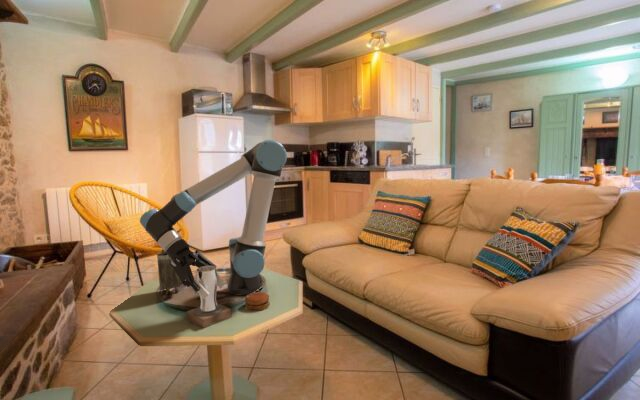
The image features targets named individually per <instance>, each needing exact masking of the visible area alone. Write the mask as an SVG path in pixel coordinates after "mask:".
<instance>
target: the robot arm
mask: <svg viewBox="0 0 640 400" xmlns="http://www.w3.org/2000/svg"><path fill="white" fill-rule="evenodd" d="M287 158H288V154H287V150H286V148H285V147H284V145H283V144H282V143H280V142H278V141H277V140H274V139H273V140H272V139H266V140H263V141H261V142H258V143H257V144H255V145H254V146H253V147H252V148H251V149H249V150H248V151H246V152H245V153H243V154H241V156H240V159H237V160H235V161H233V162H232V163H230V164H228V165H227V166H225V167H223V168H222V169H220V170H218V171H216V172H214V173H213V174H211V175H209V176H208V177H205V178H203V179H202V180H200V181H199V182H197V183H195V184H194V185H192V186H190V187H187V188H186V189H185V190H183V191H181V192H179V193H176V194H174V195H173V196H172V197H170V200H169V201H168V203H166V204H165V205H164V206H163V207H162V208H160V209H159V210H158V209H156V208H152V209H149V210H148V211H145V212H144V213H143V214H142V215H141V217H140V219H139V223H140V225H141V226H142V227H143V229H144V230H145V232H146V233H147V234H148V235H150V237H152V239H153V240H154V241H155V242H156V244H158V246H159V247H160V248H161V249H163V250H164V251H166V254H167V255H168V256H169V257H170V258H171V259H172V260H173V261H172V262H171V263H170V265H171V266H172V267H173V268H174V270H175V271H176V273H177V275H178V277H179V278H180V280H181V282H182V284H183V285H182V286H185V287H188V288H189V287H191V289H193V290H194V291H195V292H196V293H197V294H199V297H200V296H201V297H202V298H203V299H205V298H206V297H207V296H208V295H209V292H208V291H207V290H206V289H205V288H204V287H203V286H202V285H201V283H200V282H199V281H198V280H197V279H195V277H194V274H193V271H192V268H191V266H193V267H197V269H198V268H200V267H203V266H215V267H216V268H217V265H216V264H214V263H213V262H212V261H211V260H209V259H208V258H207V257H206V256H205V255H203V254H202V253H201V252H200V250H199V249H196V250H195V251H192V250H191V249H190V245H189V243H187V241H186V240H185V239H183V236H182V235H181V234H180V233H178V231H177V230H176V229H175V228H174V226H176V224H177V223H178V222H179V221H181V220H182V219H183V218H184V217H185V216H186V215H188V214H189V213H190V212H192V210H193V209H194V208H195V207H196V206H197V205H199V204H201V203H203V202H204V201H206V200H209V198H211V197H213V196H215V195H217V194H218V193H220V192H221V191H223V190H225V189H226V188H229V187H231V186H232V185H234V184H235V183H238V182H239V181H241V180H242V179H244V178H246V177H247V176H249V175H252V176H253V180H252V185H251V190H250V193H249V197H248V198H249V199H248V204H247V209H246V214H245V217H244V223H243V227H242V233H241V236H239V237H233V238H230V239H229V240H228V249H229V264H230V276H229V278H228V281H227V282H228V283H226V281H224V280H223V279H222V277H221V276H220V274H218V273H217V288H219V289H222V288H223V287H224V286H225V285H226V284H227V287H226V288H227V292H228V293H229V294H231V295H234V296H236V295H237V296H247V295H248V294H250V293H252V292H254V291H256V290H257V289H259V288H260V287H261V286H262V285H263V286H264V281H263V280H262V277H261V273H262V272H263V270H264V268H265V261H266V259H265V252H266V247H267V244H266V242H265V240H264V237H265V232H266V227H267V223H268V219H269V214H270V208H271V203H272V199H273V194H274V190H275V186H276V181H278V179H280V178H281V175H282V170H283V167H285V164H286V162H287Z"/></svg>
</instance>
